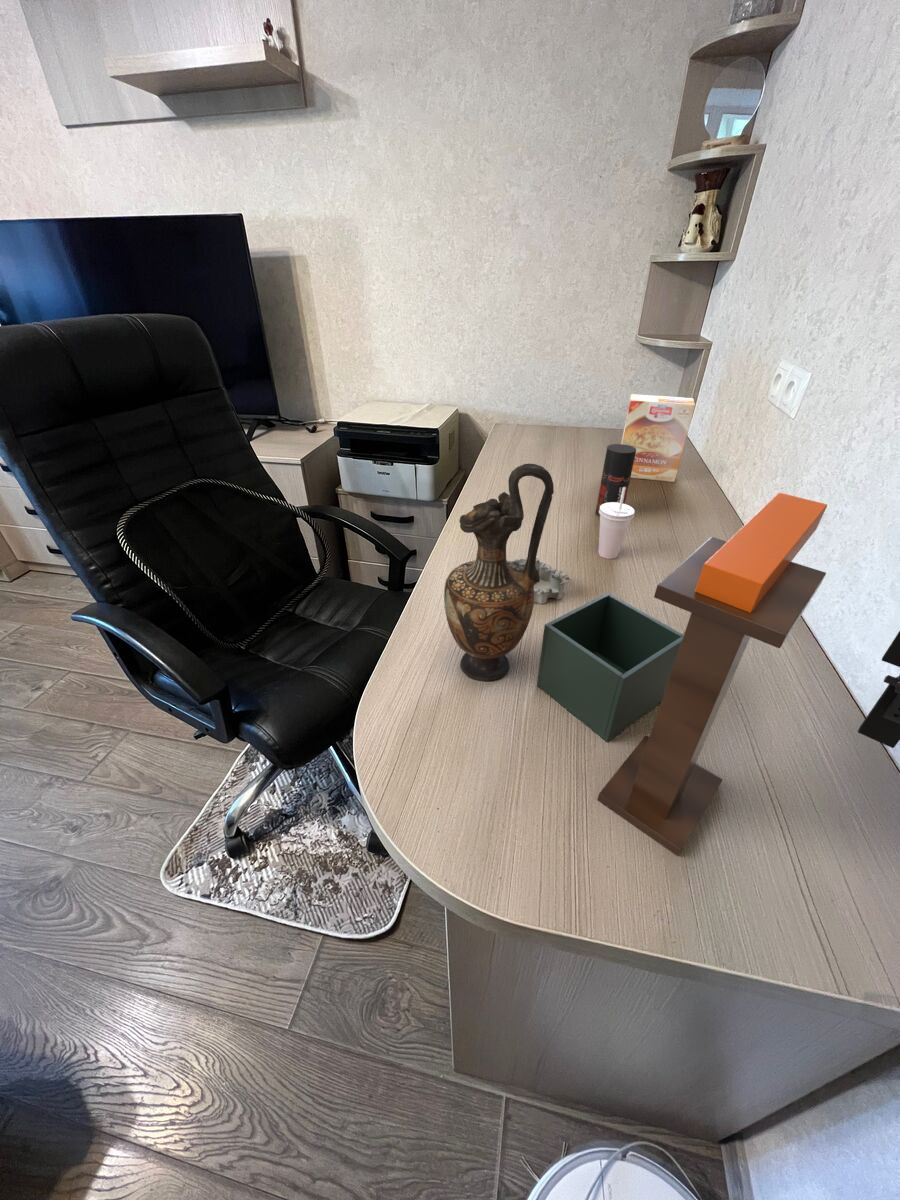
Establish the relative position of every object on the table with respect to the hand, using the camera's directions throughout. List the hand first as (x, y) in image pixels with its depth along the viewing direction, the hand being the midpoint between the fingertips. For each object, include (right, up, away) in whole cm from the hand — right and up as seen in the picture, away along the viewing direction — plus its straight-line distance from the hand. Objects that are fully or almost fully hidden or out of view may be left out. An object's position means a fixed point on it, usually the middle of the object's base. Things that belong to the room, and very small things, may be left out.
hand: (887, 698), depth 50 cm
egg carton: (-29, +12, +39) cm, 50 cm away
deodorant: (-8, +29, +64) cm, 71 cm away
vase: (-38, 0, +22) cm, 44 cm away
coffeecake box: (+8, +43, +84) cm, 95 cm away
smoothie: (-13, +19, +49) cm, 54 cm away
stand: (-21, -11, +5) cm, 24 cm away
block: (-18, +13, -8) cm, 24 cm away
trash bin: (-23, -3, +18) cm, 29 cm away
